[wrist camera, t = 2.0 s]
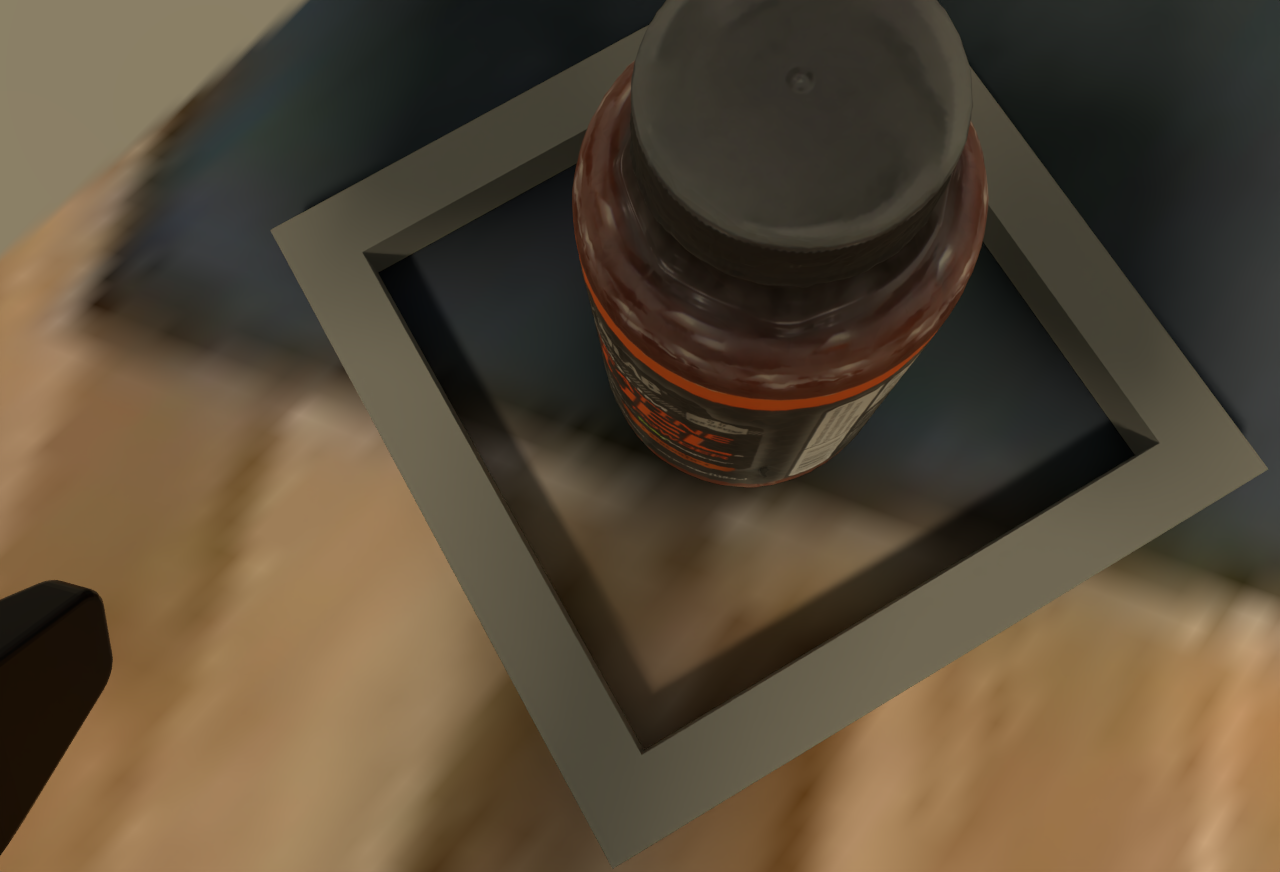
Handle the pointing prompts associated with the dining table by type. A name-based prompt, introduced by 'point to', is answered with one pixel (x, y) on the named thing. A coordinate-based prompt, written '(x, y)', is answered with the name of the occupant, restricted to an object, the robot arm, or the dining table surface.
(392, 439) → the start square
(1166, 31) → the dining table surface
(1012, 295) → the dining table surface
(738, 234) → the supplement bottle
